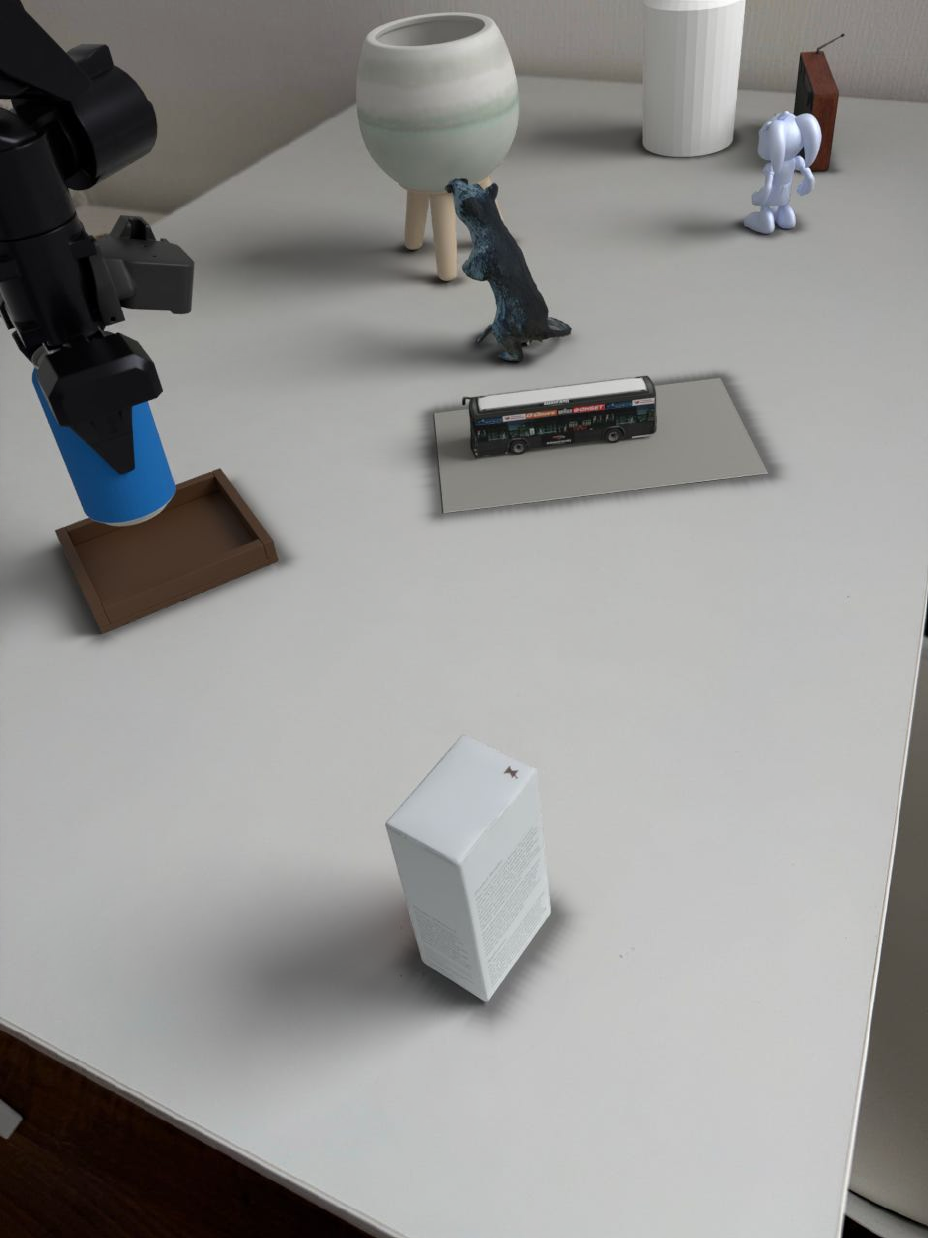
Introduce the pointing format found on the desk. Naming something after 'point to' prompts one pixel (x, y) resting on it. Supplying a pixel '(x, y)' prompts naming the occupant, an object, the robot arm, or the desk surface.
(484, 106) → the planter
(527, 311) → the sculpture
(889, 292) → the desk surface
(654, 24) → the bottle
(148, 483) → the beverage can
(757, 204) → the toy figurine
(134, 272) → the robot arm
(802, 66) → the radio
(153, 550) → the walnut tray
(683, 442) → the model bus display
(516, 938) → the cosmetic box
